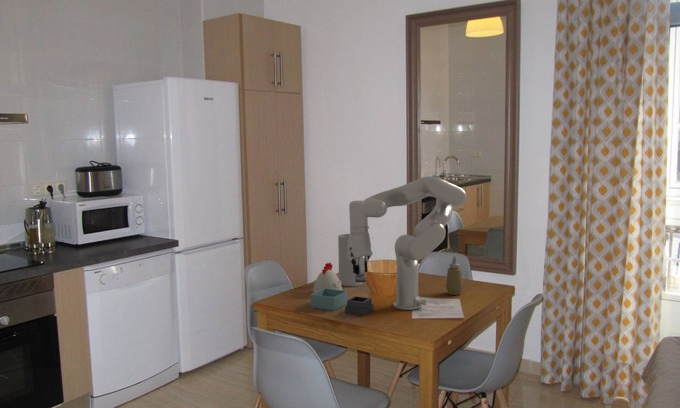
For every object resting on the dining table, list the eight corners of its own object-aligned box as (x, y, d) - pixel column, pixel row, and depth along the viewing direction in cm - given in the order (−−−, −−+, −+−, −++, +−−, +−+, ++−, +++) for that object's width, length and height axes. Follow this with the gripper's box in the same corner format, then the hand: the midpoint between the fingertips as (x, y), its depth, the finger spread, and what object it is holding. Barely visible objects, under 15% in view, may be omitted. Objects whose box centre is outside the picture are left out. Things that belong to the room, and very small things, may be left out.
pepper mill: (361, 279, 242) (360, 249, 240) (368, 280, 238) (367, 250, 236) (352, 281, 239) (351, 251, 237) (359, 283, 235) (359, 252, 233)
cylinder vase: (356, 279, 296) (355, 233, 293) (367, 285, 285) (367, 236, 282) (334, 282, 291) (334, 235, 288) (345, 288, 279) (344, 238, 277)
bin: (347, 304, 251) (347, 291, 251) (334, 311, 241) (334, 297, 240) (324, 300, 257) (324, 288, 256) (310, 307, 247) (310, 294, 246)
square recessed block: (373, 310, 241) (373, 298, 241) (364, 316, 233) (364, 303, 233) (355, 307, 245) (354, 295, 245) (345, 313, 238) (345, 300, 237)
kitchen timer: (347, 292, 271) (346, 262, 270) (332, 299, 260) (332, 267, 258) (323, 289, 278) (322, 259, 277) (307, 295, 267) (307, 264, 265)
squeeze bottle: (444, 295, 264) (444, 257, 262) (447, 290, 271) (447, 254, 269) (461, 296, 261) (461, 258, 259) (464, 292, 268) (464, 255, 266)
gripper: (367, 226, 244) (368, 267, 246) (338, 231, 233) (339, 275, 235) (379, 228, 238) (380, 270, 240) (350, 233, 227) (351, 277, 230)
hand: (360, 272), depth 238 cm, fingers closed on pepper mill, 4 cm apart
